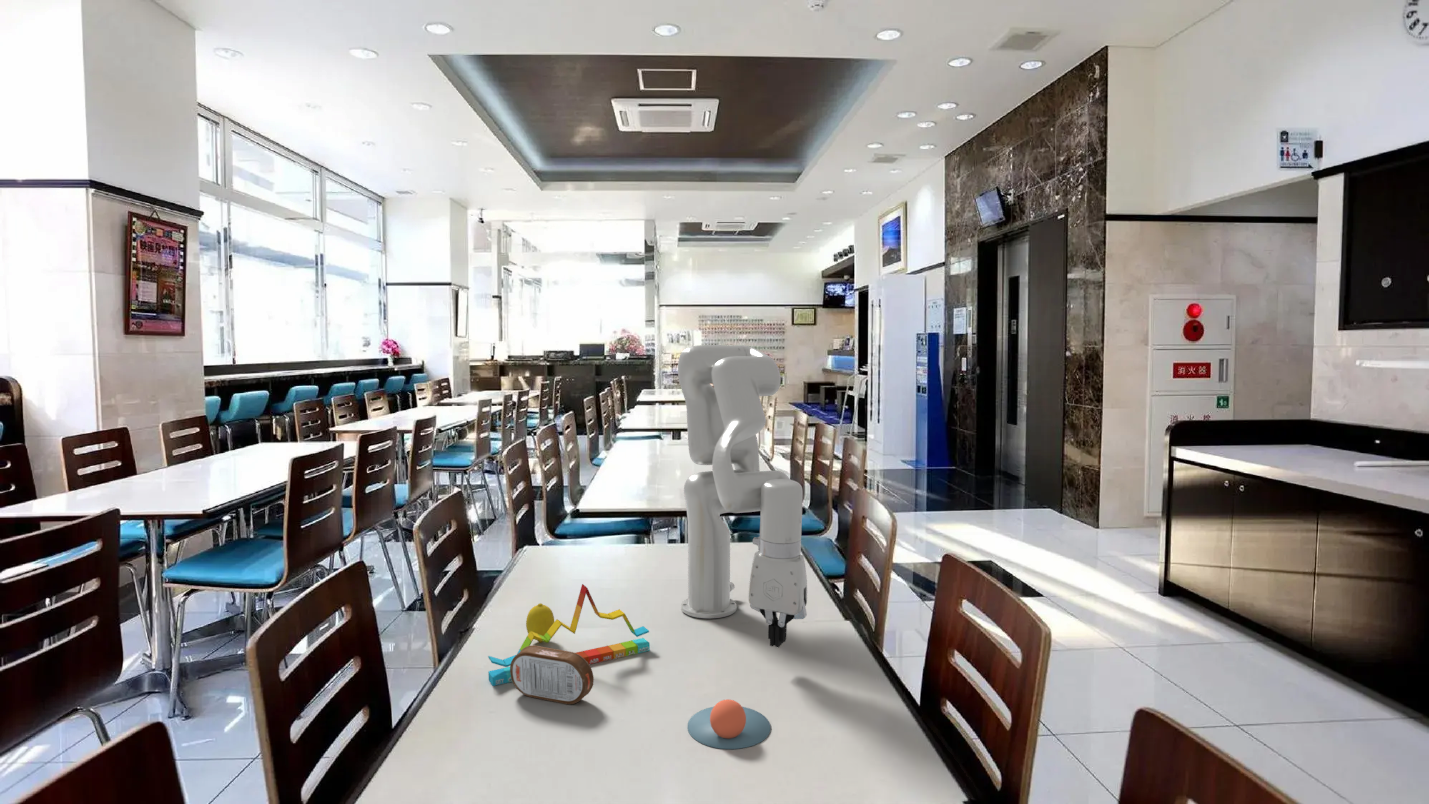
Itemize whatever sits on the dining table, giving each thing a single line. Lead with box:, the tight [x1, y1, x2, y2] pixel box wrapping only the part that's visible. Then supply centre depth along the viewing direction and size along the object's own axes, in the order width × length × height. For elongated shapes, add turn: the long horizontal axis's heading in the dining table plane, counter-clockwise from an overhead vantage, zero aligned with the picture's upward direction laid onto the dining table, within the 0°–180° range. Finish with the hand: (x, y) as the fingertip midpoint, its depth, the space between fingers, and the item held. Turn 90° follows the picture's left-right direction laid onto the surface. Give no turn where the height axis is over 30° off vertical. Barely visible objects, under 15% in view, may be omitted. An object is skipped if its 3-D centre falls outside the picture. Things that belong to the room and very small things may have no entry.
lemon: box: [525, 602, 555, 643], centre depth 147 cm, size 6×6×8 cm
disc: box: [687, 706, 771, 750], centre depth 115 cm, size 13×13×1 cm
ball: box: [710, 699, 746, 739], centre depth 112 cm, size 6×6×6 cm
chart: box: [487, 583, 651, 687], centre depth 136 cm, size 30×3×15 cm, turn 120°
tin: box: [509, 644, 595, 705], centre depth 123 cm, size 15×3×8 cm, turn 71°
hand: (777, 643), depth 135 cm, fingers closed
